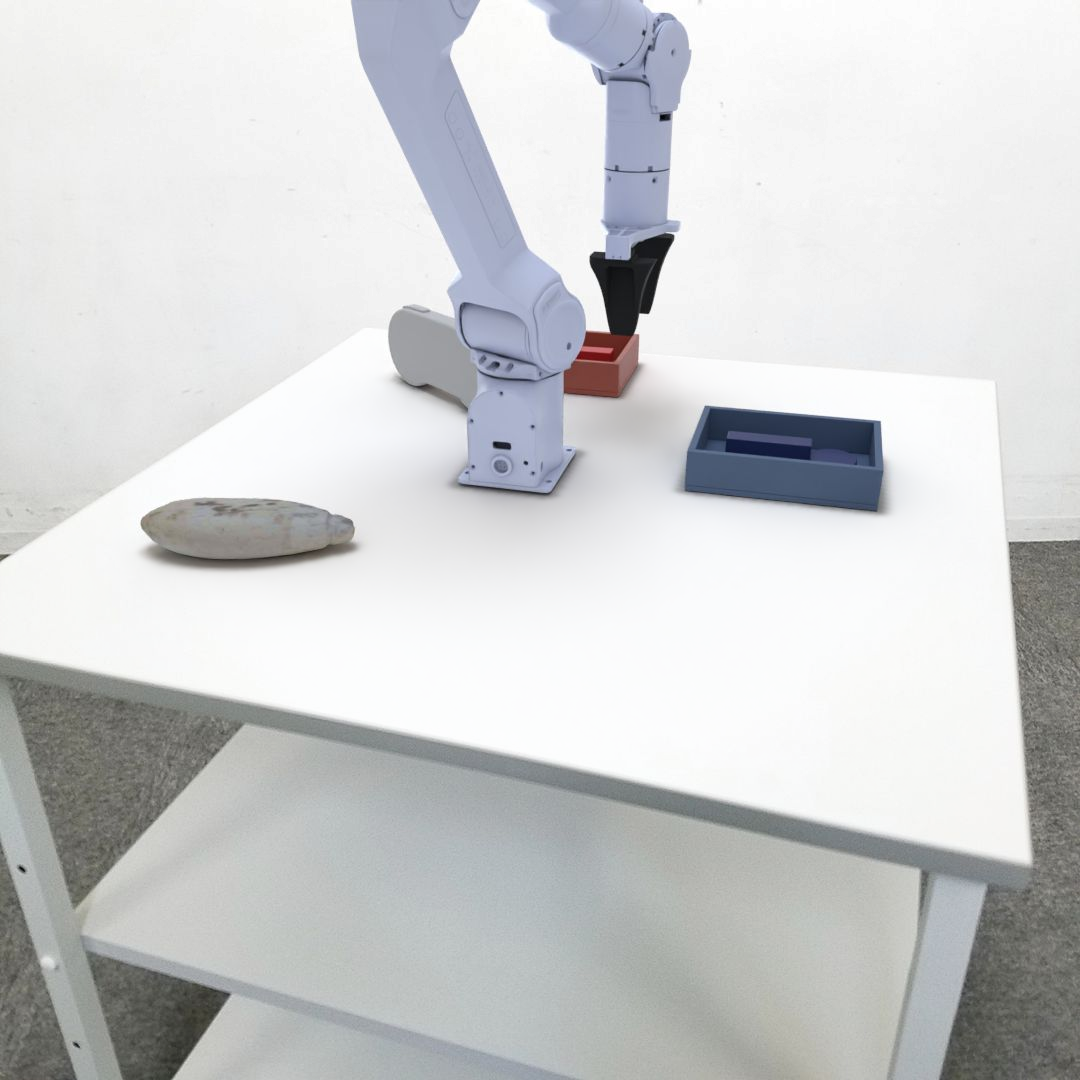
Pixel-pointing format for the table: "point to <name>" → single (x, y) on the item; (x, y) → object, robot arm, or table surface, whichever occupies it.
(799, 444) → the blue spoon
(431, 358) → the game controller
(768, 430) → the blue bin
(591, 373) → the red bin
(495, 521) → the table surface
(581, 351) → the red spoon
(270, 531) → the decorative stone
